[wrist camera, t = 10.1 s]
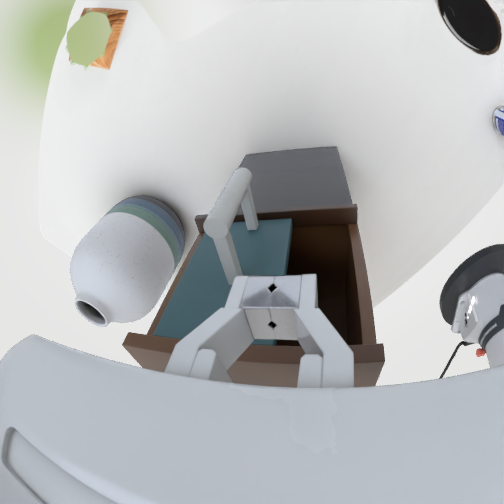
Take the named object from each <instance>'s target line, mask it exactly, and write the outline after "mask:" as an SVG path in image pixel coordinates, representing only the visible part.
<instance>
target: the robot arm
mask: <svg viewBox="0 0 504 504" xmlns="http://www.w3.org/2000/svg"><path fill="white" fill-rule="evenodd" d="M451 330H452V332H454V333H461V335H462V338H463V340H464V341H465V342H464V341H461V342H460V343H459V344H458V345H457V347H456V349H455V351H454V352H453V354H452V356H451V358H450V360H449V362H448V364H447V366H446V367H445V369H444V371H443V373H442V374H441V376H440V378H439V379H434V380H428V381H421V382H413V383H405V384H396V385H385V386H370V387H354V354H353V352H352V350H351V349H350V348H349V346H348V345H347V344H346V342H345V341H344V340H343V339H342V337H341V336H340V335H339V333H338V332H337V331H336V329H335V328H334V327H333V325H332V324H331V323H330V322H329V320H328V319H327V318H326V316H325V315H324V314H323V313H322V311H321V310H320V309H319V308H318V292H317V275H316V274H302V275H276V276H260V275H250V276H236V277H235V278H234V281H233V284H232V287H231V290H230V293H229V296H228V299H227V302H226V305H225V308H220V309H219V310H217V311H216V312H215V313H214V314H213V315H211V316H210V317H209V318H208V319H206V320H205V321H204V322H203V323H202V324H200V325H199V326H198V327H197V328H195V329H194V330H193V331H192V332H191V333H189V334H188V335H187V336H186V337H184V338H183V339H182V340H181V341H179V342H178V343H177V344H176V345H175V348H174V350H173V352H172V355H171V357H170V360H169V362H168V364H167V367H166V369H165V372H159V371H154V370H150V369H145V368H141V367H136V366H132V365H128V364H124V363H120V362H116V361H113V360H109V359H105V358H102V357H98V356H95V355H92V354H88V353H85V352H82V351H79V350H76V349H73V348H70V347H67V346H64V345H61V344H58V343H56V342H53V341H50V340H47V339H45V338H43V337H40V336H37V335H30V336H28V337H26V338H24V339H23V340H21V341H20V342H19V343H17V344H16V345H15V346H13V347H12V348H11V349H10V350H9V351H8V352H7V353H6V354H5V356H4V357H3V358H2V360H1V361H0V504H504V274H503V273H493V274H490V275H487V276H485V277H484V278H482V279H480V280H479V281H478V282H477V283H475V284H474V285H473V286H472V287H471V288H470V289H469V290H467V291H465V292H464V293H462V294H461V295H459V297H458V301H457V306H456V310H455V314H454V318H453V322H452V326H451ZM254 339H279V340H298V341H299V343H300V345H301V347H302V349H303V350H304V352H305V355H304V356H302V357H301V360H300V368H299V375H298V383H297V388H295V387H274V386H260V385H248V384H237V383H233V381H232V379H231V378H230V376H229V374H228V373H227V370H228V369H229V368H230V367H231V365H232V364H233V363H234V362H235V361H236V360H237V359H238V358H239V357H240V356H241V354H242V353H243V352H244V351H245V350H246V349H247V348H248V347H249V345H250V344H251V343H252V342H253V341H254ZM474 343H479V344H480V345H481V347H482V349H477V351H476V355H477V356H478V357H480V356H484V354H485V353H487V357H488V361H489V364H490V368H489V369H485V370H480V371H476V372H472V373H467V374H463V375H457V376H452V377H446V378H442V377H443V375H444V374H445V372H446V370H447V369H448V367H449V365H450V363H451V361H452V359H453V358H454V356H455V354H456V352H457V350H458V348H459V347H460V346H461V345H462V344H463V345H464V346H467V345H470V344H474Z"/></svg>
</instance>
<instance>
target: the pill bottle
mask: <svg viewBox="0 0 504 504" xmlns="http://www.w3.org/2000/svg"><path fill="white" fill-rule="evenodd" d="M493 124H494V127H495V129H496V131H497V132H498V133H499V134H501V135H502V136H504V106H500V107H498V108H497V109H496V110H495V111H494V114H493Z"/></svg>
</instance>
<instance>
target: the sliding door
mask: <svg viewBox="0 0 504 504" xmlns="http://www.w3.org/2000/svg"><path fill="white" fill-rule="evenodd" d="M251 180H252V173H251V172H250V171H249V170H248V169H247V168H238V169H236V170H235V172H234V173H233V175H232V177H231V178H230V180H229V182H228V183H227V185H226V186H225V188H224V190H223V191H222V193H221V195H220V196H219V198H218V200H217V201H216V203H215V205H214V206H213V208H212V210H211V211H210V213H209V215H208V217H207V218H206V220H205V222H204V224H203V228H204V231H205V233H204V235H203V237H202V239H201V241H200V242H199V244H198V246H197V248H196V250H195V252H194V254H193V256H192V258H191V259H190V261H189V263H188V265H187V267H186V269H185V271H184V273H183V275H182V277H181V279H180V281H179V283H178V285H177V287H176V289H175V291H174V293H173V295H172V297H171V299H170V301H169V303H168V305H167V307H166V309H165V311H164V313H163V315H162V317H161V319H160V321H159V323H158V325H157V327H156V330H155V332H154V334H153V336H159V337H166V338H175V339H183V338H184V337H186V336H187V335H188V334H189V333H191V332H192V331H193V330H194V329H195V328H197V327H198V326H199V325H200V324H202V323H203V322H204V321H205V320H206V319H208V318H209V317H210V316H211V315H213V314H214V313H215V312H216V311H217V310H219V309H220V308H225V305H226V302H227V299H228V296H229V293H230V290H231V287H232V284H233V281H234V278H235V277H236V276H250V275H260V276H276V275H287V268H288V260H289V252H290V244H291V236H292V228H293V224H292V219H291V218H289V219H274V220H259V221H258V220H257V215H256V211H255V206H254V202H253V197H252V193H251V188H250V182H251ZM240 205H241V206H242V210H243V214H244V218H245V222H233V220H234V218H235V216H236V214H237V211H238V209H239V207H240ZM276 343H277V339H254V341H253V342H252V343H251V344H250V345H269V346H276Z"/></svg>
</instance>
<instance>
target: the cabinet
mask: <svg viewBox="0 0 504 504" xmlns="http://www.w3.org/2000/svg"><path fill="white" fill-rule="evenodd" d="M239 168H247V169H248V170H249V171H250V172H251V173H252V180H251V182H250V188H251V193H252V197H253V202H254V206H255V211H256V215H257V220H258V221H259V220H274V219H289V218H291V219H292V224H293V228H292V236H291V244H290V252H289V260H288V268H287V275H302V274H316V275H317V292H318V308H319V309H320V310H321V311H322V313H323V314H324V315H325V316H326V318H327V319H328V320H329V322H330V323H331V324H332V325H333V327H334V328H335V329H336V331H337V332H338V333H339V335H340V336H341V337H342V339H343V340H344V341H345V342H346V344H347V345H348V346H349V348H350V349H351V350H352V352H353V354H354V387H370V386H375V385H376V382H377V380H378V377H379V375H380V372H381V370H382V367H383V365H384V362H385V357H384V346H383V344H376V334H375V326H374V317H373V309H372V302H371V295H370V288H369V282H368V276H367V270H366V265H365V259H364V254H363V249H362V244H361V239H360V234H359V230H358V225H357V205H356V204H352V200H351V196H350V192H349V189H348V185H347V181H346V177H345V174H344V170H343V167H342V163H341V160H340V157H339V153H338V150H337V147H319V148H306V149H294V150H284V151H274V152H266V153H257V154H250V155H246V156H245V158H244V160H243V161H242V163H241V164H240V166H239ZM208 215H209V214H208ZM208 215H198V216H196V217H195V222H196V224H197V227H198V230H199V233H200V234H199V236H198V237H197V239H196V241H195V243H194V245H193V246H192V248H191V250H190V252H189V254H188V255H187V257H186V259H185V261H184V263H183V265H182V267H181V268H180V270H179V272H178V274H177V276H176V278H175V280H174V282H173V283H172V285H171V287H170V289H169V291H168V293H167V295H166V297H165V299H164V301H163V303H162V305H161V307H160V309H159V311H158V313H157V315H156V317H155V319H154V321H153V323H152V325H151V327H150V329H149V331H148V333H147V335H143V334H137V333H131V332H129V333H128V334H127V336H126V338H125V340H124V342H123V344H122V345H123V346H124V348H125V349H126V350H127V351H128V352H129V353H130V354H131V355H132V356H133V358H134V359H135V360H136V361H137V362H138V363H139V364H140V365H141V366H142V367H143V368H145V369H150V370H154V371H159V372H165V369H166V367H167V364H168V362H169V360H170V357H171V355H172V352H173V350H174V348H175V345H176V344H177V343H178V342H179V341H181V340H182V339H175V338H166V337H159V336H153V334H154V332H155V330H156V327H157V325H158V323H159V321H160V319H161V317H162V315H163V313H164V311H165V309H166V307H167V305H168V303H169V301H170V299H171V297H172V295H173V293H174V291H175V289H176V287H177V285H178V283H179V281H180V279H181V277H182V275H183V273H184V271H185V269H186V267H187V265H188V263H189V261H190V259H191V258H192V256H193V254H194V252H195V250H196V248H197V246H198V244H199V242H200V241H201V239H202V237H203V235H204V233H205V231H204V228H203V224H204V222H205V220H206V218H207V217H208ZM233 222H245V218H244V214H243V210H242V206H241V205H240V207H239V209H238V211H237V214H236V216H235V218H234V220H233ZM304 355H305V352H304V350H303V349H302V347H301V345H300V343H299V341H298V340H279V339H277V343H276V346H269V345H249V347H248V348H247V349H246V350H245V351H244V352H243V353H242V354H241V356H240V357H239V358H238V359H237V360H236V361H235V362H234V363H233V364H232V365H231V367H230V368H229V369H228V370H227V373H228V374H229V376H230V378H231V379H232V381H233V383H237V384H248V385H260V386H274V387H295V388H297V383H298V375H299V368H300V360H301V357H302V356H304Z"/></svg>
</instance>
